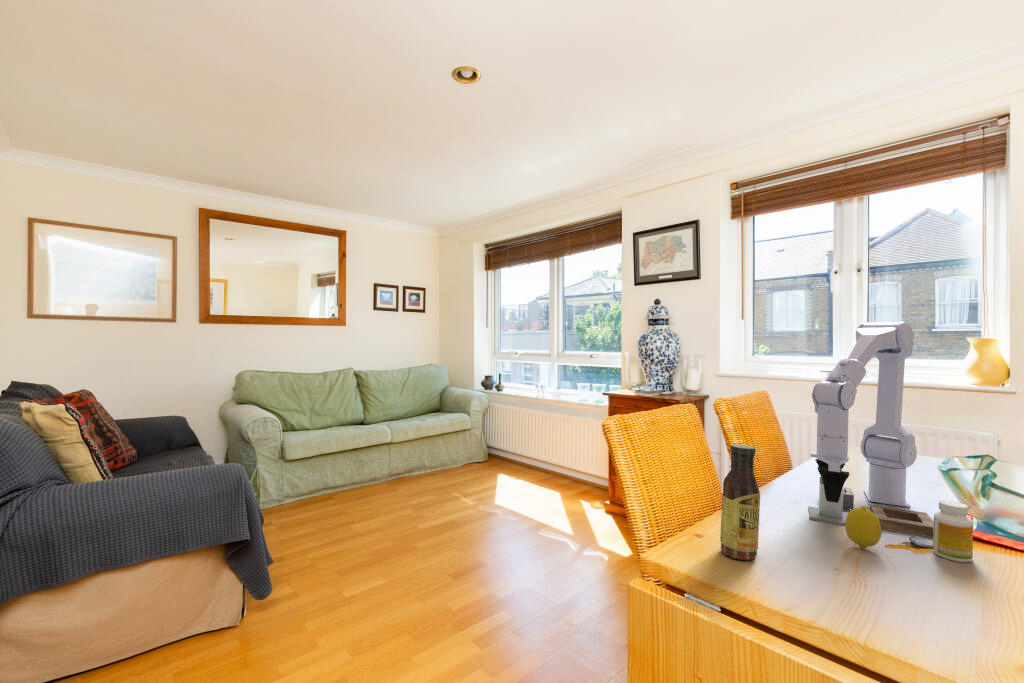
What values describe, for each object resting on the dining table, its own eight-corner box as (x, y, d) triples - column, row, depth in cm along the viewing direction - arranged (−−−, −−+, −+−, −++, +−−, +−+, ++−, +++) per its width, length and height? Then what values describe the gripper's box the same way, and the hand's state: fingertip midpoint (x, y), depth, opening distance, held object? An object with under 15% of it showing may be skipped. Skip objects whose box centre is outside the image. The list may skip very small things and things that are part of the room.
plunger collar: (821, 498, 119) (821, 484, 119) (850, 502, 116) (850, 488, 116) (822, 505, 114) (823, 490, 114) (853, 510, 111) (853, 495, 111)
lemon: (874, 545, 93) (875, 503, 93) (885, 557, 87) (886, 513, 87) (840, 540, 94) (841, 500, 94) (850, 552, 89) (851, 509, 89)
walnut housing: (869, 512, 110) (869, 504, 110) (926, 521, 105) (926, 512, 105) (876, 527, 101) (876, 518, 101) (938, 538, 96) (939, 528, 96)
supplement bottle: (980, 564, 85) (981, 510, 85) (945, 561, 86) (946, 507, 86) (958, 551, 90) (960, 499, 90) (925, 548, 92) (927, 497, 91)
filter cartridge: (818, 509, 110) (819, 475, 110) (841, 513, 108) (842, 478, 108) (819, 516, 106) (820, 480, 106) (843, 520, 104) (844, 483, 104)
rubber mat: (808, 508, 112) (808, 506, 112) (850, 515, 108) (850, 512, 108) (810, 519, 105) (810, 517, 105) (854, 527, 101) (854, 524, 101)
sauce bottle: (742, 565, 84) (744, 451, 83) (712, 550, 89) (714, 444, 89) (766, 557, 87) (768, 448, 86) (736, 544, 92) (738, 441, 92)
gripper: (809, 428, 115) (808, 484, 115) (812, 439, 102) (811, 502, 102) (845, 431, 111) (844, 489, 112) (853, 443, 99) (851, 509, 99)
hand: (830, 496), depth 107 cm, fingers open, 7 cm apart
